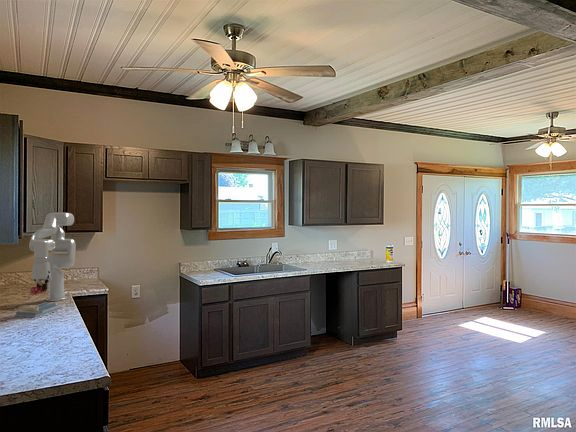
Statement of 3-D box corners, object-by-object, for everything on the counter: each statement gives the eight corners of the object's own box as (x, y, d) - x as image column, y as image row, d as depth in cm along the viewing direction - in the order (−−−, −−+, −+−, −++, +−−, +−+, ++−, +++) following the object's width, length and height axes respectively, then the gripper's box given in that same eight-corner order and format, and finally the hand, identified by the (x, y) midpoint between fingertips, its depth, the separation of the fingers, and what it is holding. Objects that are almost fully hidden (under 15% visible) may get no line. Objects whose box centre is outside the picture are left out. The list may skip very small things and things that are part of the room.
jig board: (43, 307, 278) (42, 301, 278) (62, 307, 276) (61, 302, 276) (14, 316, 256) (14, 310, 255) (35, 317, 253) (35, 311, 253)
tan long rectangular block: (23, 312, 260) (23, 305, 260) (38, 313, 259) (38, 305, 259) (18, 314, 256) (18, 306, 256) (33, 314, 255) (33, 307, 255)
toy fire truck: (29, 295, 262) (29, 279, 261) (46, 290, 275) (46, 275, 275) (34, 295, 261) (33, 279, 261) (51, 290, 274) (50, 275, 274)
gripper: (24, 261, 266) (25, 290, 267) (49, 261, 264) (49, 291, 264) (34, 259, 274) (34, 288, 274) (57, 259, 271) (58, 289, 271)
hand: (41, 289), depth 269 cm, fingers closed on toy fire truck, 3 cm apart
